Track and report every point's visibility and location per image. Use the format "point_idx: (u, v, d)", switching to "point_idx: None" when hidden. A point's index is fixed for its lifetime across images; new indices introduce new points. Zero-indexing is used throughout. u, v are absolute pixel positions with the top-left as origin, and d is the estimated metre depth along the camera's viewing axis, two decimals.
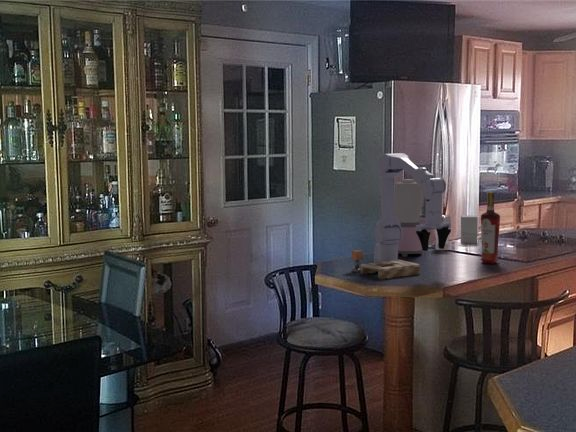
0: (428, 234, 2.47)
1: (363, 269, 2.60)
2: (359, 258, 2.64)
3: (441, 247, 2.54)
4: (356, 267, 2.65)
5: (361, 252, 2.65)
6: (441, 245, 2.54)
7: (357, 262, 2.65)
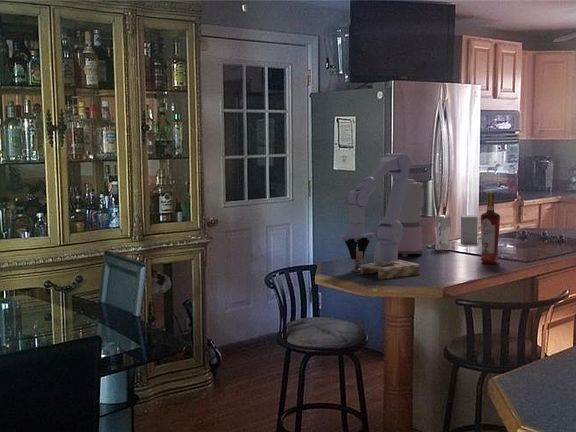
0: (355, 244, 2.62)
1: (363, 269, 2.60)
2: (359, 258, 2.64)
3: None
4: (356, 267, 2.65)
5: (361, 252, 2.65)
6: None
7: (357, 262, 2.65)
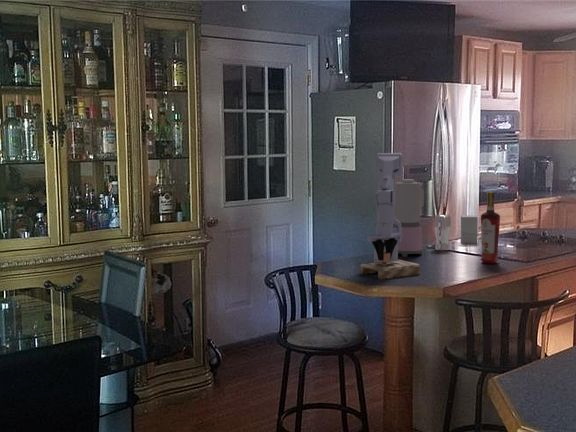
0: (383, 244, 2.54)
1: (363, 269, 2.60)
2: (386, 260, 2.57)
3: None
4: None
5: (388, 254, 2.57)
6: None
7: (384, 264, 2.58)
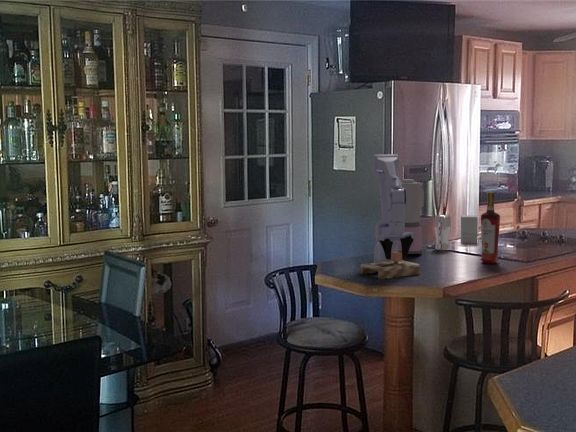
0: (391, 243, 2.56)
1: (363, 269, 2.60)
2: (398, 260, 2.60)
3: (404, 256, 2.62)
4: None
5: (400, 254, 2.60)
6: (404, 254, 2.62)
7: None
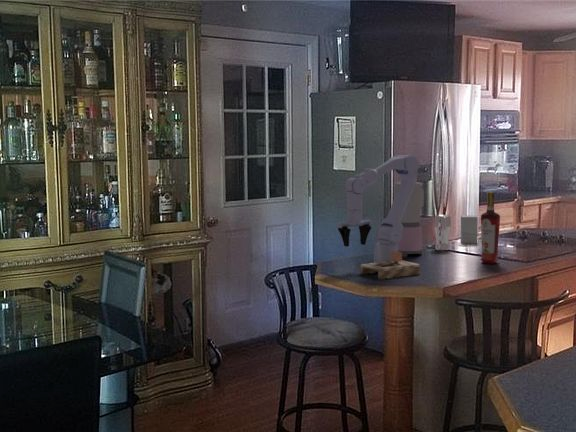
0: (348, 231, 2.63)
1: (363, 269, 2.60)
2: (398, 260, 2.60)
3: (362, 243, 2.70)
4: None
5: (400, 254, 2.60)
6: (362, 241, 2.70)
7: None
